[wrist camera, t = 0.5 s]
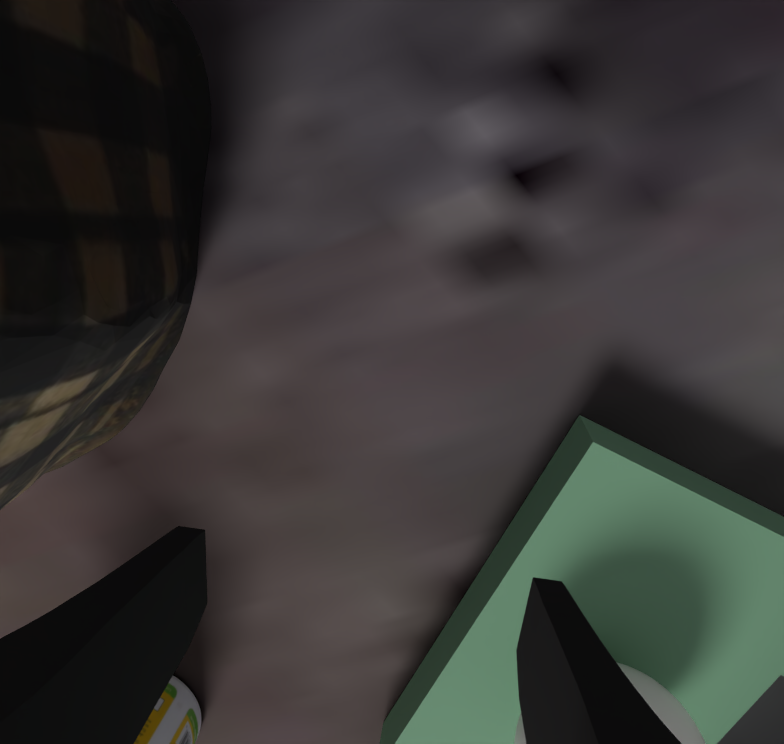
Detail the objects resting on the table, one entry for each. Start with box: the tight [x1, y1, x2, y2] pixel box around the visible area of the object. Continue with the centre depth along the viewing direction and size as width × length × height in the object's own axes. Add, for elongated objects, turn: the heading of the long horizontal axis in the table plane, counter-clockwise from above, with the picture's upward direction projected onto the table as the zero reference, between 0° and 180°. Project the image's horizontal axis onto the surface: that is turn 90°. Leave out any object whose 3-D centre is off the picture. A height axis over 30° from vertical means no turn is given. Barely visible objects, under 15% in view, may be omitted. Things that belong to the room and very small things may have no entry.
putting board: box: [380, 415, 784, 744], centre depth 22 cm, size 17×22×2 cm
